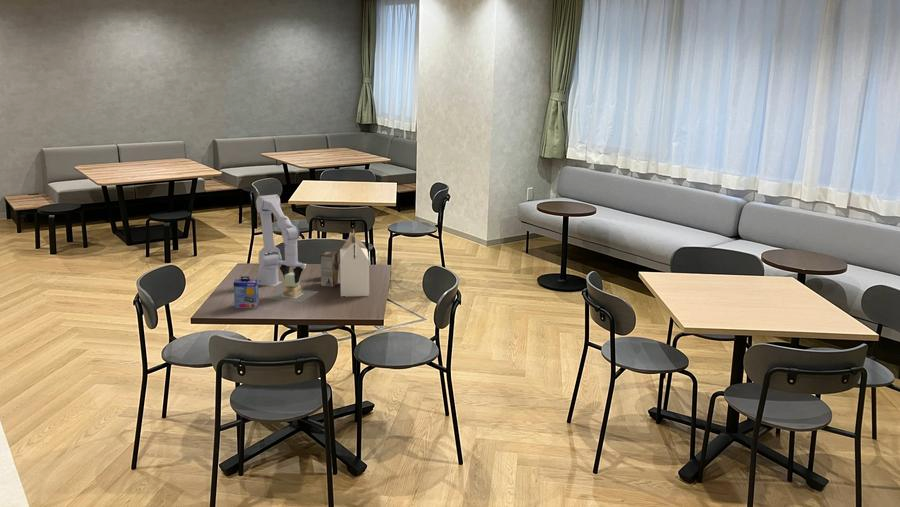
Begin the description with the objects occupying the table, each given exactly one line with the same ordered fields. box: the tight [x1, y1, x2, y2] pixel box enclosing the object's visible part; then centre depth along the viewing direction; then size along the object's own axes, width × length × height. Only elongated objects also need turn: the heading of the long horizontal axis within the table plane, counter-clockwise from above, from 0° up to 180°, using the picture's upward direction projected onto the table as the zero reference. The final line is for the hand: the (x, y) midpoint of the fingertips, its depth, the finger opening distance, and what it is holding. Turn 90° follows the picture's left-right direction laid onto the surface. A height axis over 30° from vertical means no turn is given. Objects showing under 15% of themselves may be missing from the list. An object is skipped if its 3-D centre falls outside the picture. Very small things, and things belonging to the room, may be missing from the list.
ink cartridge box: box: [233, 275, 260, 309], centre depth 328 cm, size 10×6×14 cm, turn 95°
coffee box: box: [319, 250, 340, 288], centre depth 363 cm, size 9×6×16 cm
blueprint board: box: [265, 288, 319, 304], centre depth 346 cm, size 18×18×1 cm
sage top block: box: [284, 271, 301, 287], centre depth 344 cm, size 5×5×5 cm
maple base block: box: [282, 284, 302, 297], centre depth 345 cm, size 6×6×4 cm
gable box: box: [339, 229, 370, 297], centre depth 355 cm, size 22×13×28 cm, turn 8°
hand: (292, 281), depth 344 cm, fingers closed on sage top block, 5 cm apart
